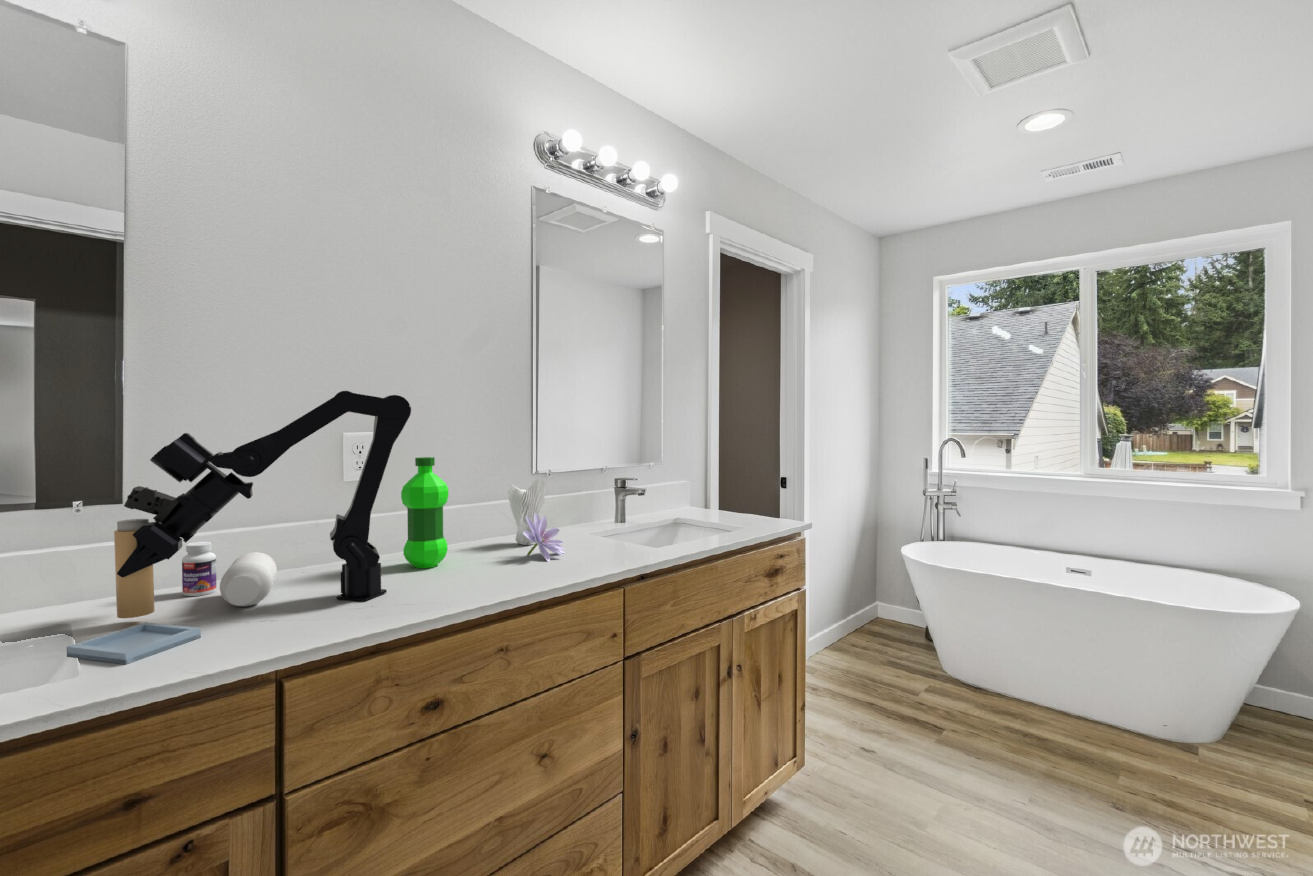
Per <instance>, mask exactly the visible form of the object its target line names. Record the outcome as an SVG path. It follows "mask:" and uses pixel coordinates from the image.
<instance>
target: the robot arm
mask: <svg viewBox="0 0 1313 876" xmlns="http://www.w3.org/2000/svg"><path fill="white" fill-rule="evenodd" d="M347 413H354V414H360V415H365V416H370V417H374V421H373V429H372V430H373V431H372V440H371V442H370V446H369V449H368V452H367V455H366V458H365V461H364V463H363V467H362V470H361V473H360V476H359V480H358V481H357V482H358V483H357V484H356V487H355V491H354V494H353V497H352V500H351V503H350V506H349V507H348V509H347V511H346V512H345V514H344V515H341V514H338V513H337V514H336V515H335V521H334V522H335V523H334V526H333V529H332V530H331V531H330V533H329V538H330V541H331V542H332V547H333V548H332V549H333V552H334V554H335V555H336V556H337V557H338V558H339V559H341V560H343V561H345V563H344V564H343V563H342V564H341V572H340V594H338V595H335V596H336V597H335V599H337V600H348V601H360V602H365V601H368V600H371V599H373V598H376V597H377V596H378V597H379V596H380V595H384V594H386V593H387V589H385V588H384V589H383V588H382V563H381V562H379V561H380V558H381V557H380V554H379V552H378V550H377V548H376V547H375V546H374V545H373V544H372V543H370V542H369V537H370V536H369V535H370V526H371V515H372V514H371V513H372V510H373V507H374V503H375V501H376V498H377V495H378V492H379V489H380V486H381V484H382V480H383V477H384V474H385V471H386V468H387V465H388V461H389V459H390V456H391V452H392V450H393V446H394V444H395V442H396V440H397V439H398V437H399V436H400V434H401V433H402V431H403V429H404V428H405V426H406V425H407V422H408V421H409V419H410V416H411V413H412V406H411V404H410V403H409V401H408V400H407V399H406V398H405V397H404V396H401V395H397V394H390V395H386V396H385V397H380V396H379V397H378V396H373V395H367V394H363V393H362V394H361V393H355V392H352V391H349V390H341V391H339V392H337V393H336V394H335V395H334V396H333V397H332V398H330V399H328V400H327V401H325V402H323V403H321V404H320V405H318V406H317V407H315V408H314V409H312V410H310V411H308V412H306V413H305V414H303V415H302V416H300V417H298V418H296V419H295V420H293V421H292V422H290V423H288V424H286V425H285V426H284V427H282V428H280V429H279V430H277V431H273V432H272V433H269V434H266V435H264V436H261V437H259V438H256V439H254V440H252V441H249V442H247V443H245V444H244V443H243V444H242V445H240V446H238V447H236V448H235V449H233V450H232V451H228V452H222V451H218V452H216V453H214V454H213V452H211V451H210V450H209V449H207V448H206V447H205V446H204V445H202V444H201V443H200V442H198V441H197V440H196V438H195V437H194V436H193V435H191V434H190V433H188V432H185V433H183V434H181V435H180V436H179V437H178V438H176V439H175V440H173V441H172V442H170V443H169V444H168V445H165V446H163V447H162V448H161V449H160V450H158V451H157V452H156V453H155V454H154V455H153V456H152V457H151V458H150V459H149V461H150V462H152V464H153V465H155V466H157V467H158V468H159V469H161V470H162V471H164V472H165V473H166V474H167V475H169V476H170V477H171V478H173V479H174V480H176V481H177V482H178V483H182V482H183V481H185V482H187V481H188V482H189V483H193V482H194V481H195V480H196V479H198V478H199V477H200V476H201V475H202V474H203V473H204V472H206V470H209V472H208V473H206V475H205V476H203V477H202V478H201V479H200V480H199V481H198V482H196V484H194V485H193V486H192V487H191V488H190V489H188V490H187V491H186V492H185V493H182V494H179V495H178V496H177V497H175V496H172V495H170V494H167V493H163V492H161V491H158V490H156V489H151V488H149V487H144V486H138V485H137V486H136V487H135V486H134V487H133V488H132V490H131V492H130V494H128V495H127V499H126V501H125V502H124V505H123V507H125V508H127V509H130V510H138V511H141V512H145V513H147V514H151V515H154V517H152V519H153V521H150V522H148V523H146V524H144V525H143V526H142V527H141V528H139V529H138V530H137V531H136V532H135V533H134V534H132V535H133V536H134V537H135V538H136V542H137V547H136V548H135V550H134V551H133V552H132V554H131V555H130V556H129V558H128V559H127V560H126V562H125V563H124V564H123V566H122V567H121V568H120V570H119V571H118V572H117V575H119V576H120V577H125V576H128V575H130V574H132V573H135V572H137V571H139V570H141V569H144V568H146V567H148V566H151V565H153V566H154V565H155V564H158V563H160V562H162V561H164V560H170V559H171V558H172V557H173V556H175V554H176V553H178V551H180V550H181V549H182V548H183V542H184V543H187V542H188V541H190V539H193V537H194V536H195V535H196V534H197V533H198V531H199V530H200V529H201V528H202V527H204V525H206V524H207V523H208V522H209V521H210V520H211V519H212V518H214V516H215V515H217V514H218V513H219V512H220V511H221V510H222V509H223V508H224V507H226V506H227V505H228V504H229V503H230V502H231V501H232V500H234V498H236V497H237V496H238V495H239V494H241V495H242V496H243V497H245V498H246V499H248V500H249V499H251V498H252V497H253V494H254V493H253V486H254V482H253V481H250V482H245V481H243V480H242V479H241V478H240V477H238V476H241V477H245V478H252V477H257V476H258V475H260V474H262V473H263V472H264V471H266V470H267V469H268V468H269V467H270V466H272V464H273V463H275V462H276V461H277V460H278V459H279V458H280V457H282V455H284V454H285V453H286V452H287V451H288V450H289V449H290V448H292V447H293V446H294V445H296V444H298V443H300V442H301V441H303V440H305V439H306V438H308V437H309V436H311V435H312V434H314V433H316V432H317V431H319V430H320V429H322V428H324V427H326V426H327V425H329V424H330V423H332V422H333V421H335V420H337V419H338V418H341V417H342V416H343V415H345V414H347ZM221 469H226V470H227V469H228V470H232V471H233V472H234V473H235V474H234V473H233V472H230V473H228V474H227V473H226V474H225V473H224V472H222V471H221ZM237 475H238V476H237Z"/></svg>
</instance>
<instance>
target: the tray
mask: <svg viewBox="0 0 1313 876" xmlns="http://www.w3.org/2000/svg"><path fill="white" fill-rule="evenodd" d="M200 638H202V628H201V627H195V626H188V625H187V626H186V625H176V624H169V623H168V624H166V623H157V622H148V621H145V622H142V623H138V624H136V625H132V626H130V627H125V628H122V629H120V630H116V631H112V632H109V633H106V634H103V635H100V636H97V637H93V638H90V639H86V640H84V641H80V642H77V643H73V644H71V645H68V646H66V657H67V658H73V659H81V660H89V661H97V662H105V663H111V664H120V665H121V664H122V665H128V664H130V663H134V662H136V661H139V660H142V659H144V658H147V657H150V656H153V655H156V654H158V653H162V652H164V651H167V650H170V649H172V648H173V649H174V648H175V647H177V646H181V645H183V644H186V643H188V642H192V641H195V640H198V639H200Z"/></svg>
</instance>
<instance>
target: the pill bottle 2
mask: <svg viewBox="0 0 1313 876" xmlns="http://www.w3.org/2000/svg"><path fill="white" fill-rule="evenodd" d="M277 568H278V567H277V565H276V562H275V561H274V559H273V558H272V557H271V556H269V555H268V554H266V553H263V552H257V551H254V552H252V551H251V552H247V553H244V554H243V555H241V556H239V557H238V558H236V559H235V560H234V561H233V562H232V563H231V564H230V566H229V567H228V569H227V570H226V571H225V573H224V574H223V576H222V577H221V578H220V583H219V592H220V595H221V597H222V598H223V599H224V601H226V602H227V603H229V604H230V605H232V606H236V607H243V608H244V607H252V606H254V605H256V604H258V603H260V602H262V601H263V600H264V599H265V598H266V597H267V596H268V595H269V593H270V590H271V588H272V587H273V584H274V582H275V579H276V577H277V573H278V572H277V571H278V569H277Z"/></svg>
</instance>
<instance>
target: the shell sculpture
mask: <svg viewBox="0 0 1313 876" xmlns="http://www.w3.org/2000/svg"><path fill="white" fill-rule="evenodd" d="M546 483H547V482H546V480H544V478H541V477H540V478H539V477H537V478H535V479H534V480H533V482H532V483H531V485H530V486H529V487H528V488H527V489H521V488H518V487H517V486H516V485H514V484H509V488H508V491H507V493H508V501H509V506H510V509H511V512H512V515H513V518H514V520H515V521H514V522H515V523H516V526H517V530H516V535H515V542H516V543H517V544H520V545H522V546H523V545H524V546H530V545H535V544H536V543H535V542H532V541H530V540H528V539H527V538H526V537H525V536H524V535H523V532H524V531H528V532H530V533H531V534H532V532H531V531H530V529H529V527H528V524H527V521H526V517H525V516H527V517H529V518H530V519H531V520H532V522H533V524H534V514H535V513H537V515H538V516H539V517H540V514H541V513H542V512H541V511H542V508H543V506H544V504H545V497H546V494H547V490H546ZM532 535H533V534H532ZM533 536H534V535H533ZM534 537H535V536H534Z"/></svg>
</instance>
